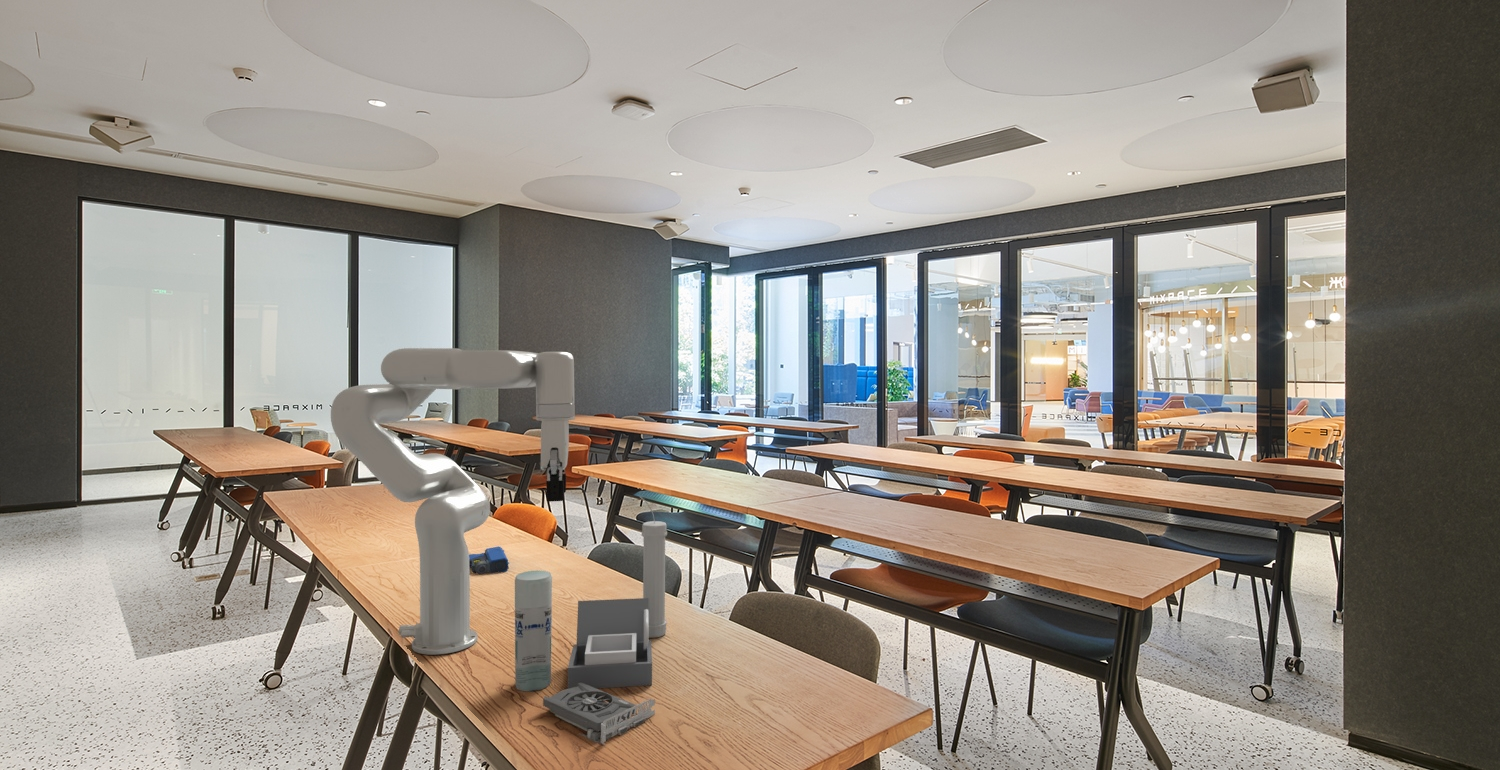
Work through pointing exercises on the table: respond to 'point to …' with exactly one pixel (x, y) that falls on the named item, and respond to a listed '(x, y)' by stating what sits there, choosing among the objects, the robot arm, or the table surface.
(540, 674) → the spray paint can
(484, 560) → the stun gun
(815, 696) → the table surface
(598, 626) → the case
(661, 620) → the pipe
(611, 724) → the graphics card
